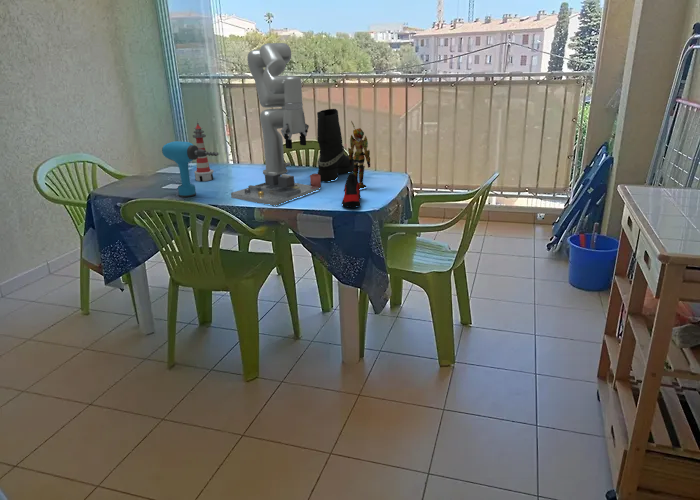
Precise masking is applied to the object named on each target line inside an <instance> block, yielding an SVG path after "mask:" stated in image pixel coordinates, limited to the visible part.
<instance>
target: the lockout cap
mask: <svg viewBox="0 0 700 500" xmlns="http://www.w3.org/2000/svg"><path fill="white" fill-rule="evenodd" d="M309 180H310V181H309V182H310V185H311V186H317V187H319V188H320V187H321V188H322V186H321V185H322V184H321V177H320V175H318V173H312V174H310V175H309Z"/></svg>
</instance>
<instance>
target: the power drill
mask: <svg viewBox="0 0 700 500" xmlns="http://www.w3.org/2000/svg"><path fill="white" fill-rule="evenodd" d="M161 152H162V155H163V157H164V158H166V159H168V160H170V161H173V162H174V163H176V164H177V165H178V168H179V175H180V181H181V184H180V185H178V186H177V190H178V196H179V197H182V198H190V197H194V196H196V195H197V191H196V184H194V183H191V179H190V170H189V163H190V162H192V161H195V160H196V161H197V158H198V157H204V156H206V155H207V156H211V157H213V156H215V157H218V156H219V153H218V152H217V151H216V152H215V151H213V152H212V151H207V150H206V149H205V150H202V149H198V147H197V146H196V145H194V144H193V143H191V142H189V141H180V140H179V141H177V140H176V141H175V140H174V141H170V142H168V143H166V144H164V145H163V146H162V148H161Z"/></svg>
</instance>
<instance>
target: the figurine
mask: <svg viewBox="0 0 700 500" xmlns="http://www.w3.org/2000/svg"><path fill="white" fill-rule="evenodd" d="M350 123H351V125H352V127H353V130H352V132H353V134H351V135H350V139H349V140H350V141H349V144H350V145H349V147H348V148H347V150H348V151H347V152H348V156H349V160H350V165H351V166H352V161H354V171H353V172H352V173H354V174H355V177H356V178H357V179H358V183H359V186H360V188H364V187H367V185H366V184H364V174H365V167H366V166H365V164H364V163H365V161H366V164H367V168H371V157H370V149H368V147H369V146H368V145H369V143H368V137H367V135H365V131H363V130H362V129H361V127H359V128H355V125H354V122H353V121H352V120H351V122H350ZM364 135H365V136H364ZM354 150H355V151H354Z"/></svg>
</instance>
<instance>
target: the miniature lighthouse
mask: <svg viewBox="0 0 700 500" xmlns="http://www.w3.org/2000/svg"><path fill="white" fill-rule="evenodd" d="M202 129H203V127H202V126H200V125H199V121H198V120H196V126H195V127H194V128H193V134H192V138H193V139H196V143H195V144H196V145H195V146H197V147H198V149H202V150H206V147H205V142H204V138H206V135H207V134H205V131H204V130H202ZM203 133H204V134H203ZM214 171H215V170H214V169H211V167H210V163H209V159H208V155H206V156H204V157H198V158H197V159H196V170H194V178H195V181H197V182H208V181H213V180H214V175H213V174H214Z"/></svg>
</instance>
